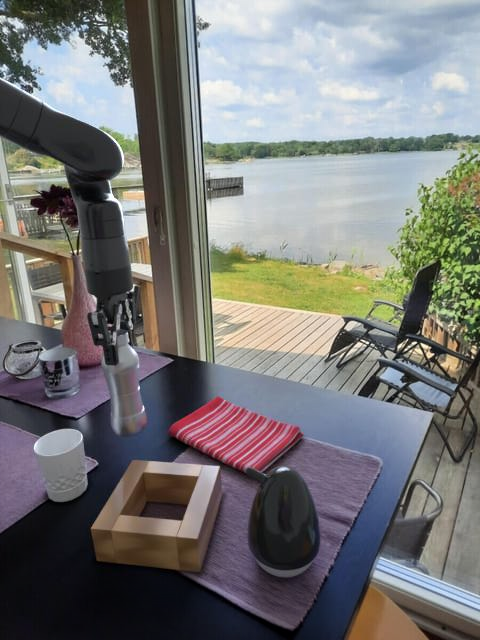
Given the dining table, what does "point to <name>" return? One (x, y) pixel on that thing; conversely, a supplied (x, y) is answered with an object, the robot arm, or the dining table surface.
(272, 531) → the pump dispenser
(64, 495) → the white cup
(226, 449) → the dish towel
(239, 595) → the dining table surface
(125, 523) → the holder
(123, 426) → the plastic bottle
